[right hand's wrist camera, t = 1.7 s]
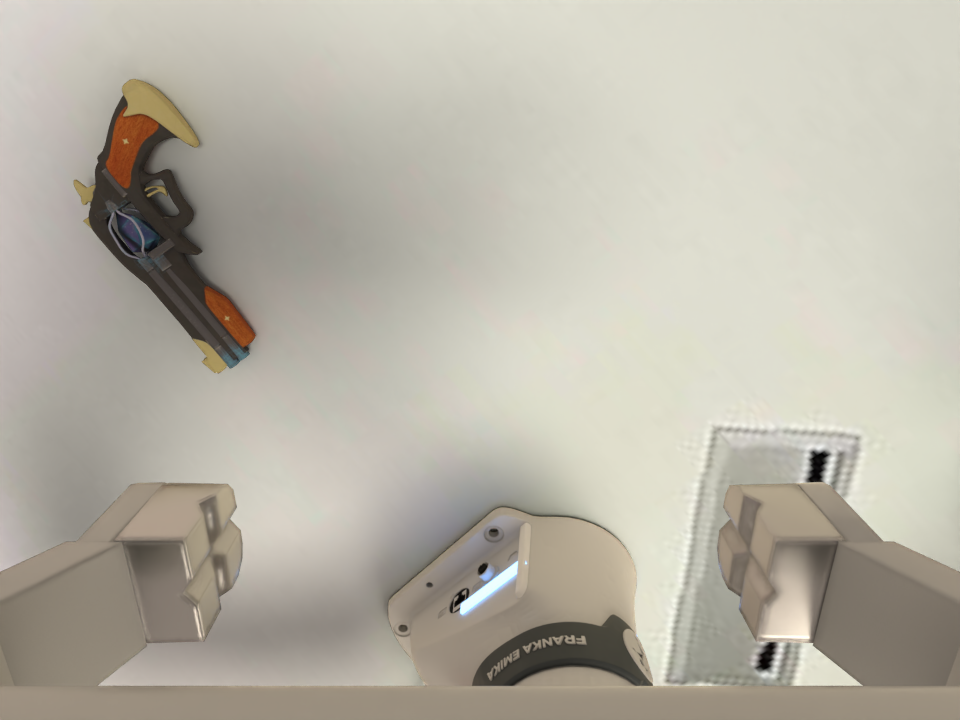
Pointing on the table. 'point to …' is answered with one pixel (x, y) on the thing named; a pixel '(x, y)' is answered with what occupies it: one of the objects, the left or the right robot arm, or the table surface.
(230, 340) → the toy gun
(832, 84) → the table surface
